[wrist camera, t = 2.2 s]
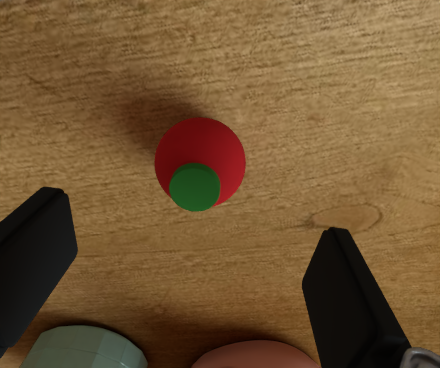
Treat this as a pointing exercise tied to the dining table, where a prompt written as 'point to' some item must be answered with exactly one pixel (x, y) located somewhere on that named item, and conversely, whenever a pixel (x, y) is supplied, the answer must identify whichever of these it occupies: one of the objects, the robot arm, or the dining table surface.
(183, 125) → the tomato
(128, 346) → the bowl
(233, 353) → the teapot
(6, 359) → the dining table surface
